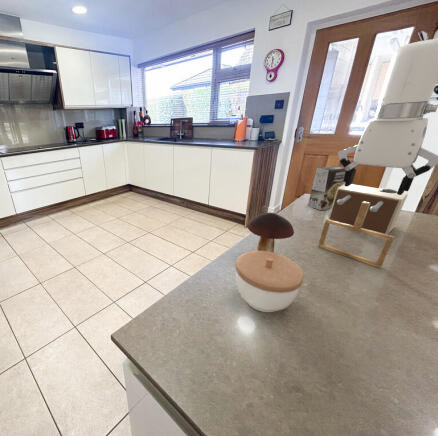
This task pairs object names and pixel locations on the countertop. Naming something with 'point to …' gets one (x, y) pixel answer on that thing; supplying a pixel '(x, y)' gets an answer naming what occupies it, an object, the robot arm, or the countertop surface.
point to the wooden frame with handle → (358, 228)
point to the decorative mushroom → (269, 230)
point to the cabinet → (378, 210)
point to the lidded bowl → (267, 280)
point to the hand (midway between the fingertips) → (372, 189)
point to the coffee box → (326, 186)
